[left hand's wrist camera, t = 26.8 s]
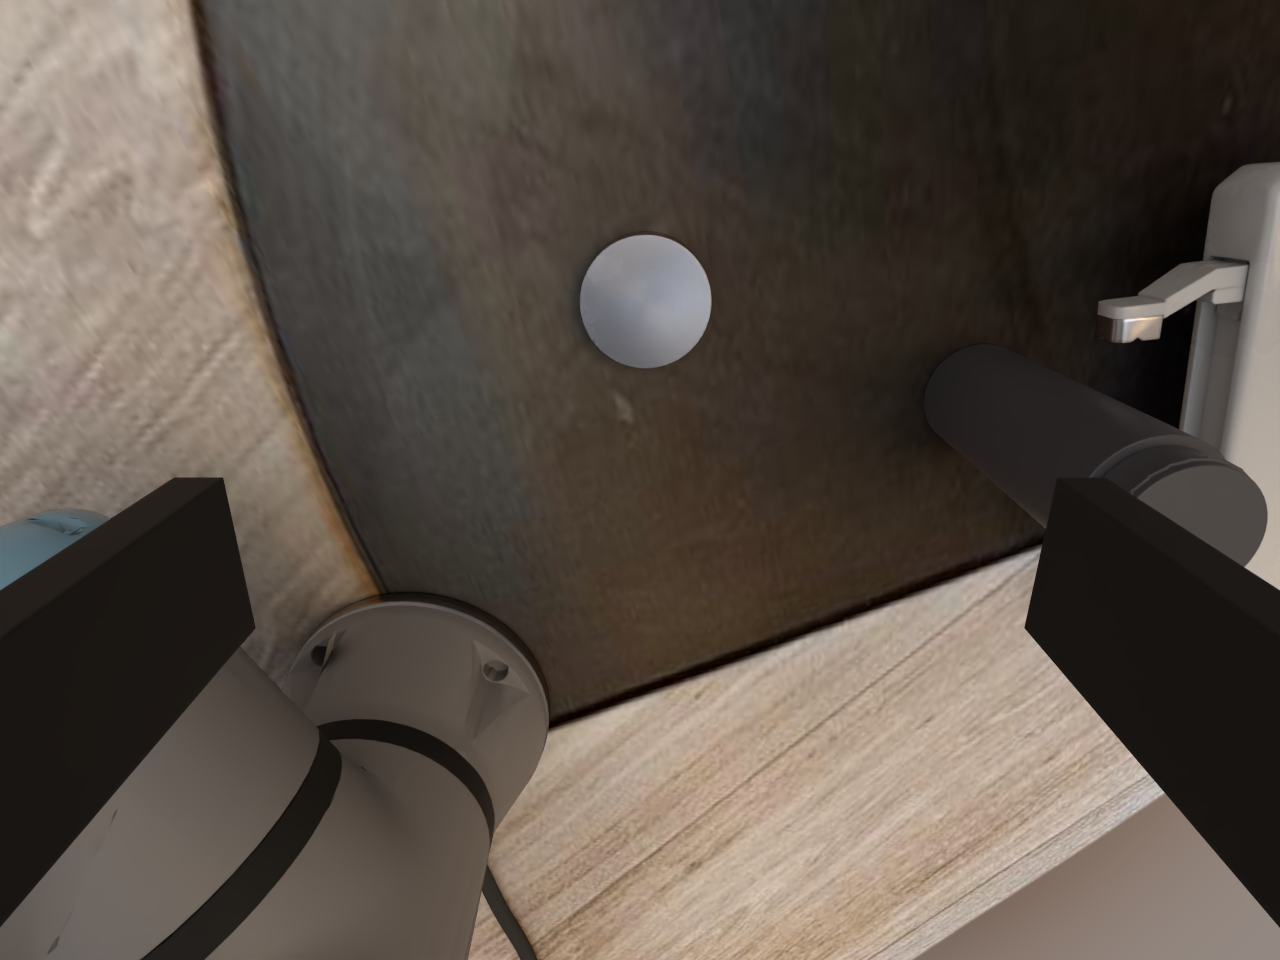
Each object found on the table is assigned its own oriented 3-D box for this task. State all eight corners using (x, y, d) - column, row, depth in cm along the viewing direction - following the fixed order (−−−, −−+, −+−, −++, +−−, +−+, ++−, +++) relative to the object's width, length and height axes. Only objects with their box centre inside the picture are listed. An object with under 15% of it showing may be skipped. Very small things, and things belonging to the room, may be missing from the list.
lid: (614, 378, 39) (613, 388, 37) (561, 263, 36) (557, 268, 34) (726, 328, 38) (731, 337, 36) (679, 209, 36) (681, 211, 34)
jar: (1021, 329, 38) (1277, 431, 22) (1036, 427, 40) (1282, 582, 24) (913, 363, 38) (1093, 485, 23) (933, 458, 40) (1112, 628, 25)
